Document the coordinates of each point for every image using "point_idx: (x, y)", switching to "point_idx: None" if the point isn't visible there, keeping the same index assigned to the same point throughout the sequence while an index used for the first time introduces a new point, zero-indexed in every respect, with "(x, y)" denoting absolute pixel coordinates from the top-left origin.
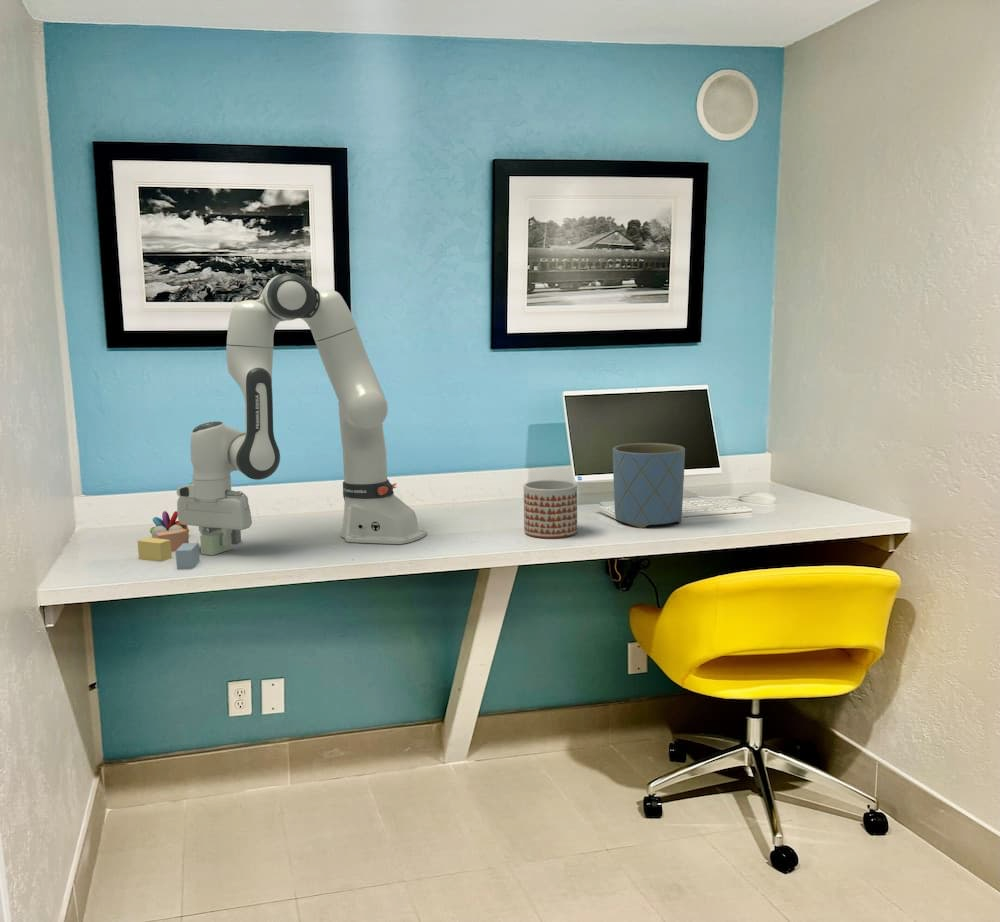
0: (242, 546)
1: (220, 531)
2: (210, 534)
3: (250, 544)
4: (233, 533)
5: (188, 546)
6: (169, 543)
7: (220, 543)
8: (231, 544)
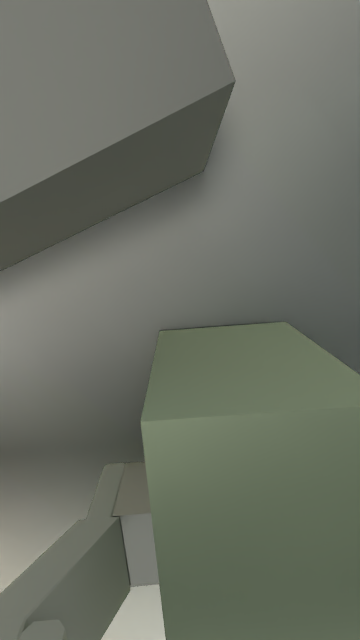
0: (315, 209)
1: (260, 510)
2: None
3: (343, 104)
4: (187, 147)
5: None
6: None
7: None
8: (299, 336)
